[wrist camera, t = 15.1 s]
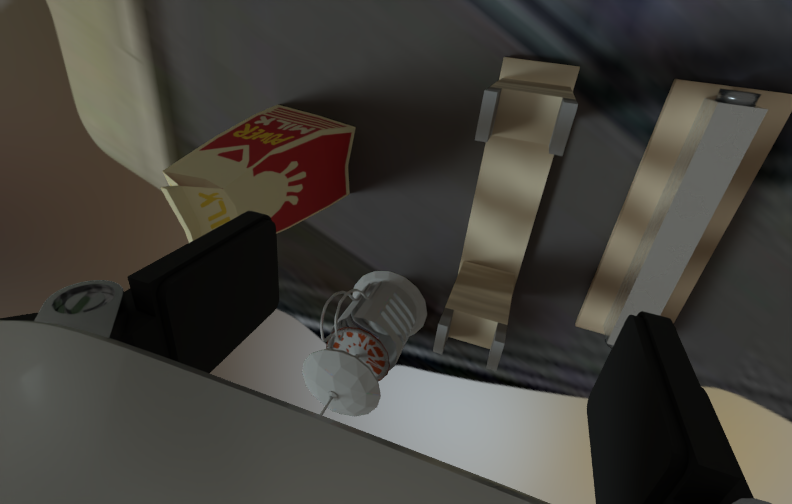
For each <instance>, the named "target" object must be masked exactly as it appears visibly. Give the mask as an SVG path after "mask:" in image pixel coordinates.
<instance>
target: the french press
mask: <svg viewBox="0 0 792 504" xmlns="http://www.w3.org/2000/svg"><path fill="white" fill-rule="evenodd" d="M351 292H353V296H352V295H351V294H350V293H351ZM342 293H344V294H345V295H344V296H343V298H342V299H341V300H340V302H339V304H338V308H337V311H336V315H335V325H334V326H333V327H332V331H331V334H330V335H329V336H328V337H327V338H326V339H324V333H323V321H324V314H325V311H326V308H327V305H328V303H329V302H330V301H331V300H332V299H333V298H334V297H335V296H336V295H338V294H342ZM347 295H348V296H349V297H350V298H351V299H352V300H353V302H352V303H351V304H350V305H349V307H348V308H347V309H346V311H345V312H344V313H343V314H342V316H341V317H340V318H339V320H338V313H339V309H340V305H341V303H342V302H343V300H344V299H345V298H346V296H347ZM350 313H351V315H352V317H353V320H354V321H355V322H356V323H358V324H359V325H361V326H362V327H364V328H366V329H367V330H369V331H371V332H372V333H374V334H376V335H377V336H379V339H377V338H376V337H375V336H373V335H372V334H371V333H369V332H367V331H364V330H362V329H360V328H358V327H356V326H355V325H353V324H352V322H351V320H350V317H349V316H350ZM426 317H427V310H426V303H425V300H424V298H423V296H422V295H421V293H420V291H419V290H418V288H417V287H416V286H415V285H414V284H412V283H411V282H410V281H409V280H408V279H406V278H405V277H403V276H400V275H398V274H395V273H393V272H390V271H374V272H371V273H369V274H367V275H364V276H362V278H361V279H360V280H359V281H358V282H357V283H356V285H355V287H354V289H352V290H350V291H348V292H345V291H339V292H337V293H335V294H333V295H332V296H331V297H330V298H329V299H328V300H327V302H326V304H325V306H324V308H323V312H322V316H321V324H320V331H321V339H322V340H323V342H327V346H326V349H324V350H321V351H317V352H314V353H312V354H311V355H310V356H309V357H308V358H307V359H306V360H305V361H304V365H303V371H302V374H303V377H304V380H305V383H306V386H307V387H308V389H309V390H310V392H311V393H312V395H313V396H314V397H315V398H316V399H317V400H319V401H320V402H321V403H322V404H323V405H325V407H324V409H323V410H322V412H321V414H320V415H321V416H322V415H323V413H324V412H325V410H326V408H328V409H330V410H332V411H334V412H337V413H339V414H344V415H350V416H359V415H365V414H369V413H370V412H371V411H372V410H374V409H375V408H376V407H377V405H378V402H379V399H380V389H379V384H378V381H380V380H381V379H383V378H384V377H385V376H386V375H387V374H388V371H389V370H391V369H392V368H393V367H394V366H395V364H396V362H397V360H398V358H399V356H400V354H401V352H402V349H403V348H404V346H405V343H406V342H407V340H408V337H409V336H411V335H414V334H415V333H416V332H417V331H418V330H420V329H421V328H422V327H423V325H424V322H425V319H426ZM345 318H347V322H348V324H349V327H346V324H345ZM342 319H343V323H342V327H343V328H341V329H340V325H341V320H342ZM337 320H338V321H339V323H338V321H337ZM337 323H338V330H337ZM404 341H405V342H404ZM403 342H404V343H403ZM403 345H404V346H403ZM396 356H397V357H396Z"/></svg>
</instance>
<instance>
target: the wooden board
mask: <svg viewBox="0 0 792 504" xmlns="http://www.w3.org/2000/svg"><path fill="white" fill-rule="evenodd" d="M720 89H731V90H739V91H746V92H752V93H758V94H761V96H760V98H759V100H758V102H757V104H756V106H759V107H762V108H765V109H768V111H767V113H766V115H765V117H764V119H763V120H762V122H761V124H760V126H759V128H758V130H757V132H756V134H755V136H754V138H753V139H752V141H751V143H750V145H749V147H748V149H747V151H746V153H745V155H744V157H743V159H742V160H741V162H740V164H739V166H738V168H737V170H736V172H735V174H734V176H733V178H732V180H731V181H730V183H729V185H728V187H727V189H726V191H725V193H724V195H723V197H722V199H721V201H720V202H719V204H718V206H717V208H716V210H715V212H714V214H713V216H712V218H711V220H710V221H709V223H708V225H707V227H706V229H705V231H704V233H703V235H702V237H701V239H700V241H699V242H698V244H697V246H696V248H695V250H694V252H693V254H692V256H691V258H690V260H689V262H688V263H687V265H686V267H685V269H684V271H683V273H682V275H681V277H680V279H679V281H678V283H677V284H676V286H675V288H674V290H673V292H672V294H671V296H670V298H669V300H668V302H667V303H666V305H665V307H664V309H663V311H662V313H661V315H660V316H663V317H667V318H670V319H671V320H672V322H673V324H674V322H675V320H676V318H677V317H678V315H679V313H680V311H681V309H682V308H683V306H684V304H685V302H686V300H687V299H688V297H689V295H690V293H691V291H692V290H693V288H694V286H695V284H696V282H697V281H698V279H699V277H700V275H701V273H702V272H703V270H704V268H705V266H706V264H707V263H708V261H709V259H710V257H711V255H712V254H713V252H714V250H715V248H716V247H717V245H718V243H719V241H720V239H721V238H722V236H723V234H724V232H725V230H726V229H727V227H728V225H729V223H730V221H731V220H732V218H733V216H734V214H735V212H736V211H737V209H738V207H739V205H740V203H741V202H742V200H743V198H744V196H745V194H746V193H747V191H748V189H749V187H750V186H751V184H752V182H753V180H754V178H755V177H756V175H757V173H758V171H759V169H760V168H761V166H762V164H763V162H764V160H765V159H766V157H767V155H768V153H769V151H770V150H771V148H772V146H773V144H774V142H775V141H776V139H777V137H778V135H779V133H780V132H781V130H782V128H783V126H784V125H785V123H786V121H787V119H788V117H789V116H790V114H791V112H792V94H787V93H779V92H772V91H764V90H756V89H749V88H741V87H733V86H725V85H718V84H710V83H702V82H695V81H687V80H679V79H674V81H673V84H672V86H671V89H670V91H669V94H668V96H667V99H666V101H665V103H664V106H663V108H662V111H661V113H660V116H659V118H658V121H657V123H656V126H655V128H654V131H653V133H652V135H651V138H650V140H649V143H648V145H647V148H646V150H645V153H644V155H643V158H642V160H641V162H640V165H639V167H638V170H637V172H636V175H635V177H634V180H633V182H632V185H631V187H630V190H629V192H628V194H627V197H626V199H625V202H624V204H623V207H622V209H621V212H620V214H619V217H618V219H617V222H616V224H615V226H614V229H613V231H612V234H611V236H610V239H609V241H608V244H607V246H606V249H605V251H604V254H603V256H602V258H601V261H600V263H599V266H598V268H597V271H596V273H595V276H594V278H593V281H592V283H591V285H590V288H589V290H588V293H587V295H586V298H585V300H584V303H583V305H582V308H581V310H580V313H579V315H578V317H577V320H576V322H575V325H576V326H577V327H580V328H584V329H588V330H591V331H595V332H598V333H602V334H605V332H604V327H603V325H604V322H605V320H606V318H607V316H608V313H609V311H610V309H611V307H612V304H613V302H614V300H615V298H616V295H617V293H618V291H619V289H620V286H621V284H622V282H623V280H624V277H625V275H626V273H627V271H628V268H629V266H630V264H631V262H632V259H633V257H634V255H635V253H636V250H637V248H638V246H639V244H640V241H641V239H642V237H643V235H644V232H645V230H646V228H647V226H648V223H649V221H650V219H651V217H652V214H653V212H654V210H655V208H656V205H657V203H658V201H659V199H660V196H661V194H662V192H663V190H664V187H665V185H666V183H667V181H668V178H669V176H670V174H671V172H672V169H673V167H674V165H675V163H676V160H677V158H678V156H679V154H680V151H681V149H682V147H683V145H684V142H685V140H686V138H687V136H688V134H689V131H690V129H691V127H692V125H693V122H694V120H695V118H696V116H697V113H698V111H699V109H700V107H701V104H702V102H703V100H704V98H709V99H716V97H717V94H718V92H719V90H720Z"/></svg>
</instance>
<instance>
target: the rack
mask: <svg viewBox="0 0 792 504" xmlns="http://www.w3.org/2000/svg"><path fill="white" fill-rule="evenodd" d="M579 69H580V67H579V66H571V65H563V64H556V63H548V62H540V61H533V60H525V59H517V58H509V57H504V59H503V64H502V69H501V73H500V78H499V81H497V82H496V83H494V84H493V85H491V86H490V87H489V88H487V89H486V90H484V95H483V100H482V105H481V110H480V115H479V120H478V125H477V130H476V136H475V140H476V141H482V142H486V144H485V149H484V154H483V159H482V163H481V168H480V173H479V177H478V182H477V187H476V192H475V196H474V201H473V206H472V211H471V215H470V220H469V225H468V229H467V234H466V239H465V244H464V248H463V253H462V258H461V263H460V267H459V272H458V276H457V279H456V281H455V284H454V286H453V289H452V291H451V294H450V296H449V299H448V301H447V304H446V306H445V309H444V311H443V314H442V316H441V319H440V321H439V324H438V328H437V333H436V338H435V343H434V348H433V352H436V353H439V354H442V353H443V350H444V347H445V344H446V341H447V339H448V337H452V338H455V339H458V340H461V341H465V342H468V343H471V344H475V345H478V346H481V347H485V348H488V349H490V353H489V358H488V363H487V369H490V370H493V371H496V370H497V367H498V363H499V360H500V357H501V354H502V350H503V347H504V344H505V338H506V331H507V325H508V318H509V312H510V305H511V299H512V294H513V291H514V288H515V284H516V281H517V278H518V274H519V271H520V267H521V264H522V261H523V257H524V254H525V251H526V247H527V244H528V241H529V237H530V234H531V230H532V227H533V224H534V220H535V217H536V214H537V210H538V207H539V204H540V200H541V197H542V193H543V190H544V187H545V183H546V180H547V177H548V173H549V170H550V167H551V163H552V160H553V156H554V155H559V156H563V152H564V149H565V146H566V143H567V139H568V136H569V133H570V130H571V126H572V123H573V120H574V117H575V113H576V110H577V107H578V103H577V101H576V98H575V96H574V94H573V89H574V86H575V83H576V79H577V76H578V72H579Z"/></svg>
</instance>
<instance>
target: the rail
mask: <svg viewBox="0 0 792 504" xmlns="http://www.w3.org/2000/svg"><path fill="white" fill-rule="evenodd" d="M760 96H761V94H758V93H752V92H746V91H739V90H731V89H720V90H719V92H718V94H717V97H716V99H709V98H704V100H703V102H702V104H701V107H700V109H699V111H698V113H697V116H696V118H695V120H694V122H693V125H692V127H691V129H690V131H689V134H688V136H687V138H686V140H685V142H684V145H683V147H682V149H681V151H680V154H679V156H678V158H677V160H676V163H675V165H674V167H673V169H672V172H671V174H670V176H669V178H668V181H667V183H666V185H665V187H664V190H663V192H662V194H661V196H660V199H659V201H658V203H657V205H656V208H655V210H654V212H653V214H652V217H651V219H650V221H649V223H648V226H647V228H646V230H645V232H644V235H643V237H642V239H641V241H640V244H639V246H638V248H637V250H636V253H635V255H634V257H633V259H632V262H631V264H630V266H629V268H628V271H627V273H626V275H625V277H624V280H623V282H622V284H621V286H620V289H619V291H618V293H617V295H616V298H615V300H614V302H613V304H612V307H611V309H610V311H609V313H608V316H607V318H606V320H605V322H604V325H603V327H604V332H605V338H606V339H605V342H606V344H607V345H608V346H609V347H610V348H611V349H612V348H613V346H614V344H615V341H616V339H617V337H618V335H619V333H620V331H621V329H622V327H623V325H624V323H625V321H626V319H627V317H628V316H629V315H635V316H637V314H638V313H639V312H641V311H644V312H648V313H652V314H656V315H661V313H662V311H663V309H664V307H665V305H666V303H667V302H668V300H669V298H670V296H671V294H672V292H673V290H674V288H675V286H676V284H677V283H678V281H679V279H680V277H681V275H682V273H683V271H684V269H685V267H686V265H687V263H688V262H689V260H690V258H691V256H692V254H693V252H694V250H695V248H696V246H697V244H698V242H699V241H700V239H701V237H702V235H703V233H704V231H705V229H706V227H707V225H708V223H709V221H710V220H711V218H712V216H713V214H714V212H715V210H716V208H717V206H718V204H719V202H720V201H721V199H722V197H723V195H724V193H725V191H726V189H727V187H728V185H729V183H730V181H731V180H732V178H733V176H734V174H735V172H736V170H737V168H738V166H739V164H740V162H741V160H742V159H743V157H744V155H745V153H746V151H747V149H748V147H749V145H750V143H751V141H752V139H753V138H754V136H755V134H756V132H757V130H758V128H759V126H760V124H761V122H762V120H763V119H764V117H765V115H766V113H767V111H768V109H765V108H762V107H759V106H756V104H757V102H758V100H759V98H760Z"/></svg>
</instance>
